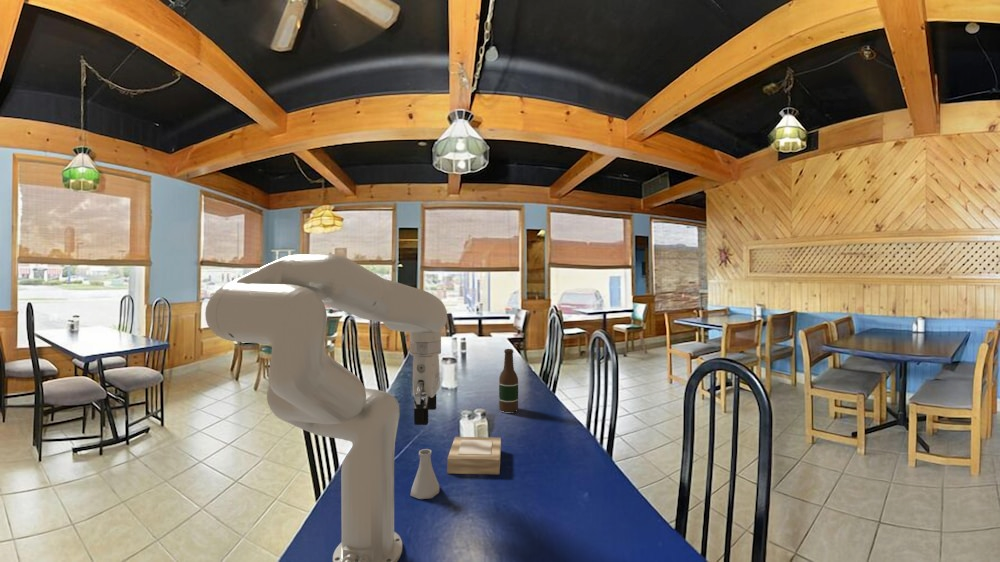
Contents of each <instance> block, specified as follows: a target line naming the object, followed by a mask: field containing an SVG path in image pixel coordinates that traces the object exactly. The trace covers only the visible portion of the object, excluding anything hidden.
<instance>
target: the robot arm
mask: <svg viewBox="0 0 1000 562" xmlns="http://www.w3.org/2000/svg"><path fill="white" fill-rule="evenodd" d="M326 306H327V307H330V308H334V309H335V310H338V311H341V312H345V313H347V314H351V315H352V316H356V317H358V318H360V319H364V320H368V321H374V322H378V323H379V322H380V323H383V324H384V326H385V327H386V328H387V329H389V330H391V331H395V332H401V333H402V332H403V333H405V332H406V333H409V355H411V356H413V361H412V394H413V397H414V406H413V408H414V409H413V416H414V417H413V423H414V425H416V426H427V425H428V424H429V411H431V410H432V411H433V410H436V409H437V392H438V391H439V389H440V387H441V375H440V374H441V373H440V372H441V371H440V359H439V355H440V354H442V329H444V327H445V326H446V323H447V320H448V314H447V308H446V306H445V303H444V302H443V301H442V300H441V299H440V298H439V297H437V296H435V295H434V294H433V293H431V292H428V291H426V290H425V289H424V290H423V289H420V288H417V287H413V286H410V285H407V284H404V283H400V282H397V281H394V280H390V279H386V278H384V277H382V276H380V275H379V274H376V273H374V272H373V271H371V270H369V269H367V268H366V267H364V266H363V265H361V264H358V263H357V262H355V261H354V260H352V259H350V258H348V257H346V256H343V255H341V254H335V253H310V254H308V253H305V254H303V253H299V254H291V255H287V256H283V257H281V258H279V259H276V260H274V261H272V262H270V263H268V264H265V265H263V266H261V267H260V268H257V269H255V270H253V271H251V272H248V273H246V274H244V275H242V276H241V277H238V278H236V279H234V280H232V281H230V282H227V283H226V284H224V285H222V286H221V287H220V288H219V289H217V290H216V291H215V292H214V293H213V294H212V296H211V297H210V298H209V300H208V301H207V304H206V306H205V307H206V308H205V321H206V325H207V326H208V328H209V329H210V330H211V332H212V333H213V334H215V335H216V336H217V337H219V338H221V339H224V340H226V341H230V342H237V343H248V344H260V345H261V344H262V345H270V346H271V354H270V355H271V356H270V360H269V372H268V379H267V380H268V387H267V390H266V391H267V392H266V400H267V405H268V407H269V409H270V411H271V412H272V413H273V415H274V416H276V418H278V419H280V420H282V422H283V421H284V422H286V423H288V424H290V425H293V426H294V427H297V428H299V429H301V430H304V431H306V432H308V433H311V434H313V435H315V436H319V437H325V438H333V439H339V440H344V441H347V442H348V441H349V442H351V444H352V445H351V446H352V447H351V448H350V450H349V451H348V453H347V455H345V457H344V459H343V461H342V464H341V470H340V473H341V475H340V482H341V485H340V486H341V488H340V491H341V492H340V493H341V494H340V496H341V498H340V499H341V503H340V504H341V505H340V507H341V513H340V514H341V516H340V518H341V520H340V521H341V542H340V543H339V544H337V545H338V546H337V547H336V548H335V549H334V552H333V554H332V562H398V561H399V560H400V558H401V555H402V554H403V540H402V537H401V536H400V534H398V533H397V532H396V531H395V447H396V444H395V443H396V438H397V431H398V427H399V421H400V414H401V413H400V412H401V410H400V404H399V402H398V400H397V398H396V397H395V396H393V395H392V394H391V393H390V392H386V391H383V390H380V389H373V388H365V386H364V384H363V383H362V381H361V379H360V378H359V377H358V376H357V375H356V374H354V372H351V370H350V369H348V368H346V367H345V366H343V365H342V364H340V363H339V362H338V361H337V360H336V359H334V358H332V357H331V356H330V354H328V353H327V352H326V348H325V347H326V346H325V345H326V330H327V325H328V324H327V323H328V319H327V318H328V315H327V309H326Z"/></svg>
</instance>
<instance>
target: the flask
mask: <svg viewBox="0 0 1000 562" xmlns="http://www.w3.org/2000/svg"><path fill="white" fill-rule="evenodd" d="M432 452H433V451H432V449H428V448H423V449H421V450H419V451H418V456H419V464H418V468H417V472H416V474H415V477H414V480H413V483H412V486H411V488H410V489H411V490H410V493H409V494H410V496H411V497H412V498H416V499H418V500H424V499H425V500H426V499H427V500H428V499H433V498H434V497H435V496H437V495H438V494H439V493H440V484H439V481H438V479H437V476H436V474H435V473H436V472H435V471H434V468H433V465H432V459H431V457H432V456H431V455H432Z"/></svg>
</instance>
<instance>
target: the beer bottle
mask: <svg viewBox="0 0 1000 562" xmlns="http://www.w3.org/2000/svg"><path fill="white" fill-rule="evenodd" d="M503 352H504V360H503V361H504V364H503V370H502V371H501V372H500V375H499V379H498V380H499V381H498V407H499V408H498V409H499V411H500V410H501V411H504V412H514V411H516V410H518V411H519V378H518V374H517V373H516V371H515V369H514V368H515V367H514V350H513V349H512V348H505V349H504V351H503Z"/></svg>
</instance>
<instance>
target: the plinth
mask: <svg viewBox="0 0 1000 562" xmlns="http://www.w3.org/2000/svg"><path fill="white" fill-rule="evenodd" d="M501 453H502V438H501V437H494V436H493V437H487V436H486V437H483V436H482V437H481V436H477V437H476V436H454V437H453V442H452V444H451V448H450V449H449V453H448V455H447V461H446V462H447V467H446V468H447V469H446V470H447V473H446V474H457V475H458V474H465V475H469V474H470V475H500V473H501V472H500V468H501Z"/></svg>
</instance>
